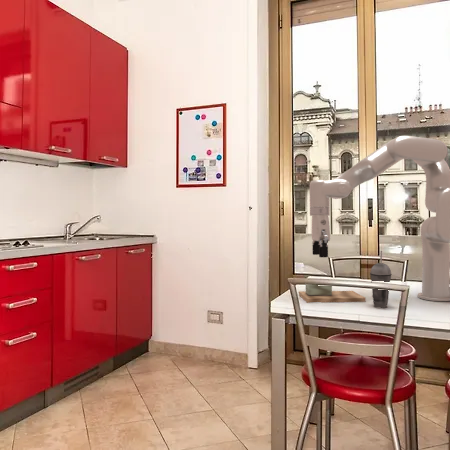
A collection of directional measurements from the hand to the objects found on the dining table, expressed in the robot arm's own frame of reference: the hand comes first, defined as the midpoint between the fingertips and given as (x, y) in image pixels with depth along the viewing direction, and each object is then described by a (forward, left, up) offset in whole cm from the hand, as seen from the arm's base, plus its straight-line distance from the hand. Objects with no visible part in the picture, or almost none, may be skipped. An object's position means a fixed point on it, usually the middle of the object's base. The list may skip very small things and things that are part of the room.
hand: (320, 255), depth 164 cm
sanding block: (+1, 0, -15) cm, 15 cm away
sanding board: (-4, 0, -17) cm, 17 cm away
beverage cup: (-17, +16, -17) cm, 29 cm away
